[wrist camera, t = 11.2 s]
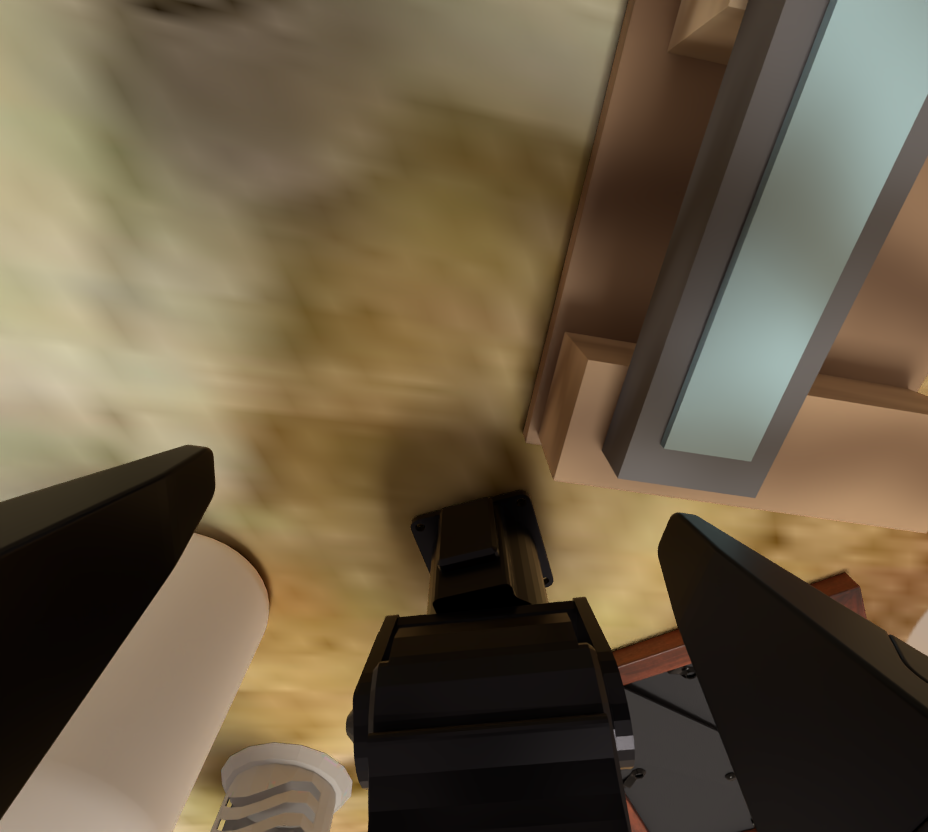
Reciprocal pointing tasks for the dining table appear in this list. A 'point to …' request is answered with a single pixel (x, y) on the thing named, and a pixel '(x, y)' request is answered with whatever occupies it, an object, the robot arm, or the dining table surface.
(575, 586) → the dining table surface
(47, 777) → the wine bottle
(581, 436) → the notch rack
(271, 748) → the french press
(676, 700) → the picture frame
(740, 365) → the picture frame
